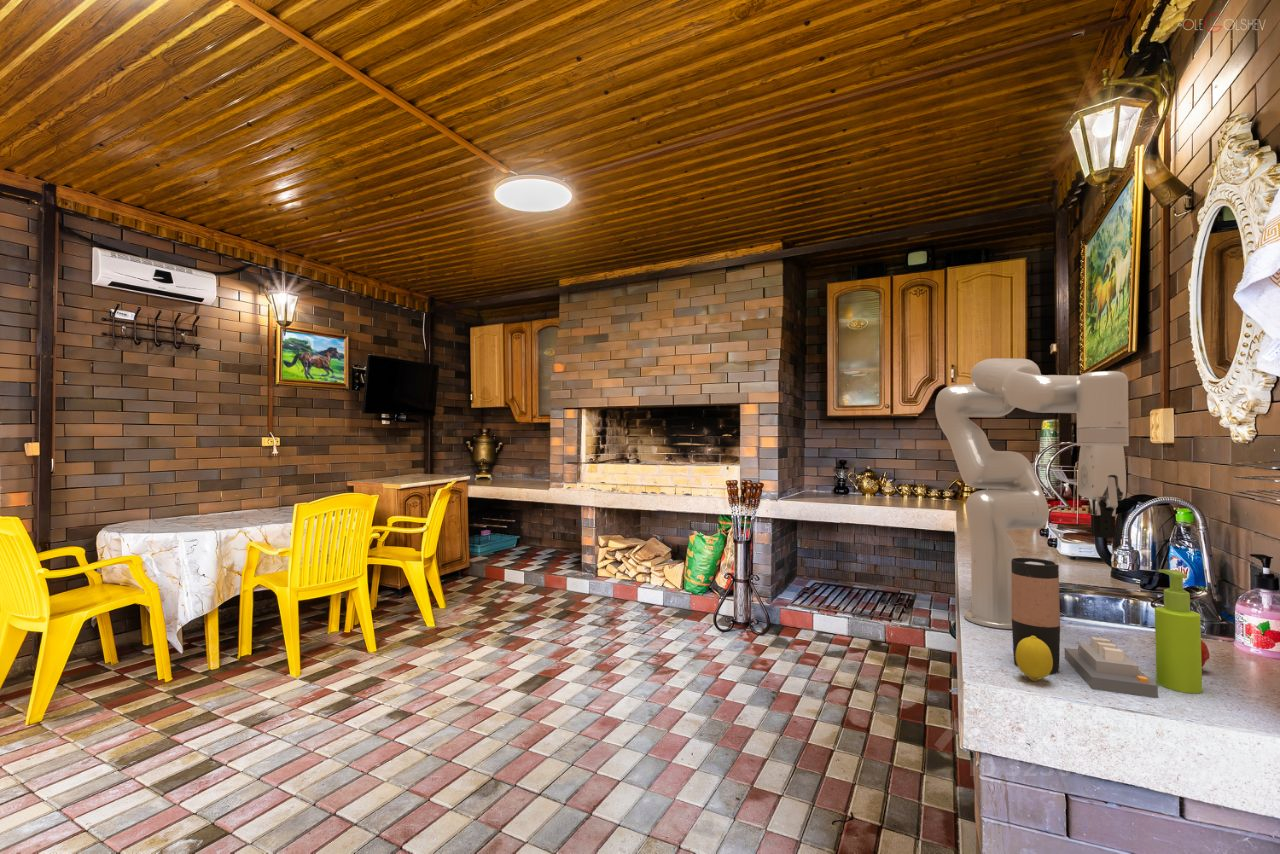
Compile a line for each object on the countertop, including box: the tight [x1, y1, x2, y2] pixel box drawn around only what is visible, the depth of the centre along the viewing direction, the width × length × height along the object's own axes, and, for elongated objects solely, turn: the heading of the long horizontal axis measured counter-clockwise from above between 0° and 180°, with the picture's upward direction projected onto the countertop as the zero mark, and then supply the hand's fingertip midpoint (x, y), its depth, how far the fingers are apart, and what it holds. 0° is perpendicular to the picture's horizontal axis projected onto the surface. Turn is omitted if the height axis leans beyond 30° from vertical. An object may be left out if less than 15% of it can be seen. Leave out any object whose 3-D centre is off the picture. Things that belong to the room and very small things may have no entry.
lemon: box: [1015, 636, 1053, 682], centre depth 103 cm, size 6×6×8 cm
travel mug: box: [1011, 557, 1061, 675], centre depth 110 cm, size 8×8×20 cm
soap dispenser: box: [1154, 568, 1203, 694], centre depth 102 cm, size 6×7×20 cm
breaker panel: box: [1063, 636, 1159, 699], centre depth 105 cm, size 16×9×6 cm, turn 157°
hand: (1103, 536), depth 106 cm, fingers closed
